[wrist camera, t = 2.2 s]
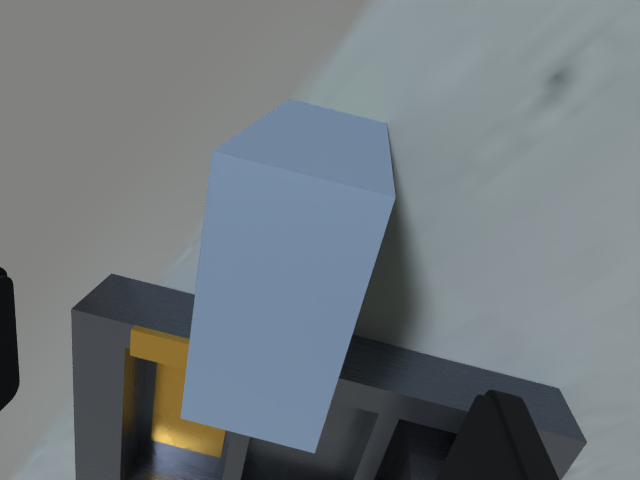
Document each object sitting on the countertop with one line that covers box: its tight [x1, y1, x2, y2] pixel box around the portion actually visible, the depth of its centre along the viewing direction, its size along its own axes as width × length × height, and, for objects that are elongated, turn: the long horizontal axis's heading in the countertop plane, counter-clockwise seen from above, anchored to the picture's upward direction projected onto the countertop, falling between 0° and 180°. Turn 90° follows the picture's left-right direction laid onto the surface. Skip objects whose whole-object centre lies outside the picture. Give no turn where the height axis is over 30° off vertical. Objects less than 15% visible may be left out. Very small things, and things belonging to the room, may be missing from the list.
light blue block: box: [181, 99, 396, 453], centre depth 13 cm, size 7×4×8 cm, turn 167°
